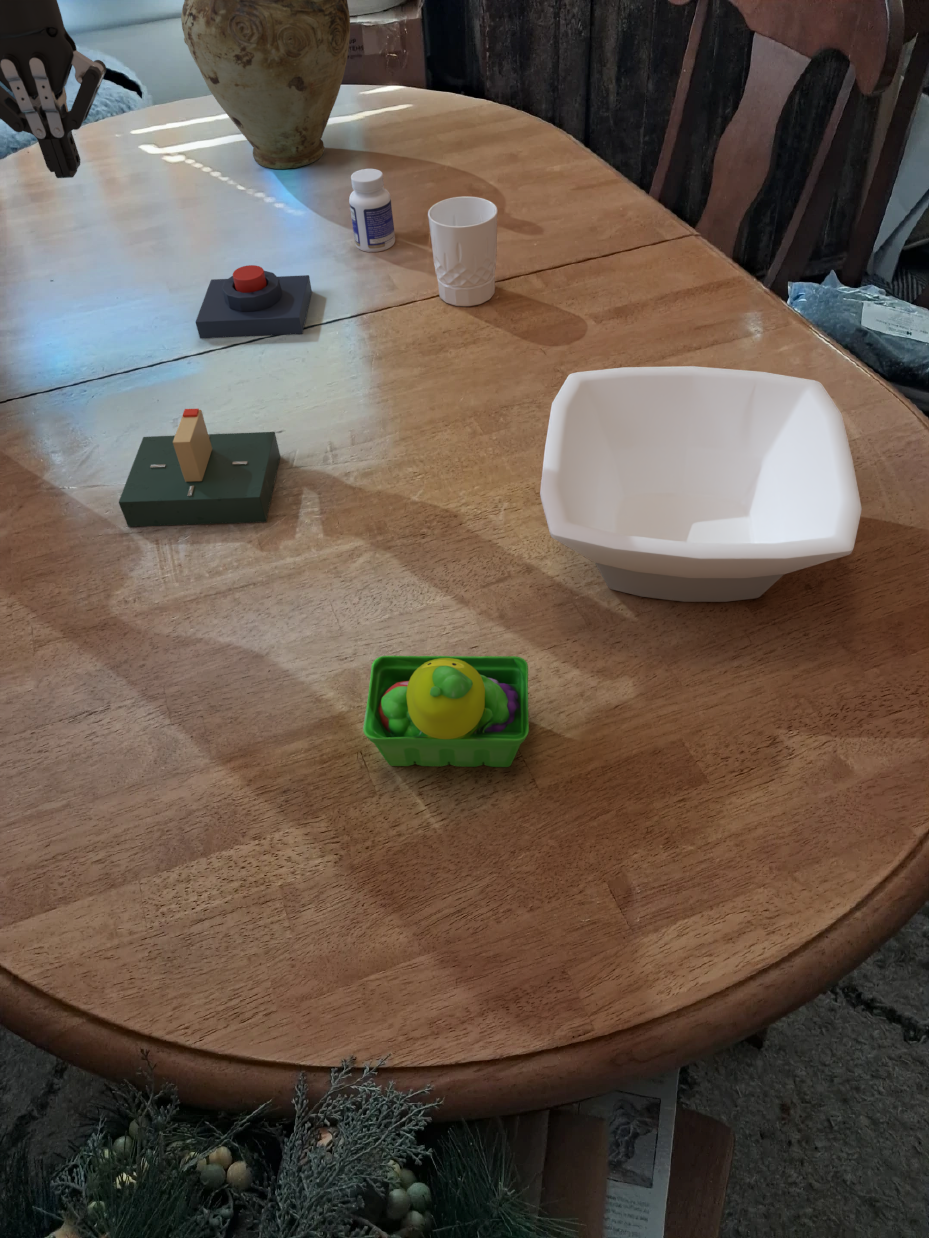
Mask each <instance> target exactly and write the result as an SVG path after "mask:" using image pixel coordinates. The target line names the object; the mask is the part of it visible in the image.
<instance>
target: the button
mask: <svg viewBox="0 0 929 1238" xmlns="http://www.w3.org/2000/svg"><path fill="white" fill-rule="evenodd" d="M264 271H265V270H264V268H263V267H261V266H260V265H257V264H256V265H255V264H248V265H243V266H240V267H237V268H236V269H235V270H234V271H233V272H232V276H233V279H234V283H235V288H236V290H237V291H238V292H242V293H250V292H255V291H259V290H262V289H263V288H264V287H266V285H267V284H266V279H265V274H264Z"/></svg>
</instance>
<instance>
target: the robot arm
mask: <svg viewBox="0 0 929 1238" xmlns="http://www.w3.org/2000/svg"><path fill="white" fill-rule="evenodd" d="M72 68H74V71H75V72H74V79H75V80H76V82H77V83H78V84H79V88H78V91H77V93H76V96H75V98H74V101H73V103H72V106H71V108H70V110H69V107H68V103H67V100H68V96H67V92H66V88H65V87H66V85H67V83H68V80H69V76H70V74H71V71H72ZM106 73H107V66H106V63H104V61H103V60H101V59H95V60H92V59H90V58H89V57H87V56H86V55H84V54H83V53H82V52H80V51H78V50H77V44H76V42H75V41H74V39H73V38H72V37H71V35H70V34H69V33H68V31H67V29H66V27H65V24H64V20H63V16H62V12H61V8H60V6H59V2H58V0H0V83H1V84H2V85H3V86H5V87H6V89H7V90H8V91H9V92H8V91H7V90H6V89H5V88H4V87H3V86H2V85H0V120H1V121H2V122H4V123H5V124H6V126H8V127H9V128H10V129H11V130H12V131H14V132H16V133H22V132H25V133H28V134H30V135H32V136H34V138H35V139H36V140H37V142H38V146H39V148H40V151H41V154H42V156H43V159H44V163H45V166H46V168H47V169H48V171H49V172H50V173H54V175H55V177H56V179H70V178H71V179H73V178H74V177H75V175H76V174H77V172H78V169H79V167H80V166H81V156H80V153H79V151H78V147H77V144H76V141H75V137H74V135H73V131H75V130H76V131H78V130H79V129H80V128H81V127H82V125H83V124H84V122H85V121H86V120H87V119H88V117H89V115H90V111H91V109H92V107H93V104H94V102H95V100H96V97H97V94H98V92H99V89H100V87H101V84H102V82H103V80H104V78H105V75H106ZM10 92H11V93H12V94H13V95H11V93H10Z"/></svg>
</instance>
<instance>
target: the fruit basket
mask: <svg viewBox="0 0 929 1238" xmlns="http://www.w3.org/2000/svg"><path fill="white" fill-rule="evenodd" d="M370 669H371V670H370V676H369V684H368V693H367V699H366V700H367V701H366V707H365V714H364V720H363V727H362V731H363V734H364V736H365V737H366V738H367V739H368V740H369V741H370V742H371V743H373V744H374V746H375V747H376V749H377V750H378V751H379V753H380V755H382V757H383V758H384V760H385V761H386V763H387V764H388V765H389V766H390V767H409V766H413V765H417V766H421V767H445V766H449V765H450V766H454V767H461V768H462V767H463V768H464V767H469V768H472V767H473V768H476V767H481V766H483V765H484V766H486V767H490V768H508V767H511V765H512V763H514V759H515V757H516V755H517V753H518V752H519V749H520V747H521V744H522V743H524V741H525V740H526V738H527V736H528V734H529V730H530V725H529V723H530V722H529V665H528V661H526V659H524V658H523V657H520V656H516V655H498V656H497V655H483V656H482V655H481V656H479V655H477V656H476V655H469V656H468V655H465V656H464V655H453V656H452V655H451V656H450V655H381V656H378V657H376V658H375V659H374V660H373V662H372V663H371V667H370Z"/></svg>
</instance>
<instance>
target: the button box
mask: <svg viewBox="0 0 929 1238" xmlns="http://www.w3.org/2000/svg"><path fill="white" fill-rule="evenodd" d="M264 274H265V279H266V284H267V285H266V287H264V288H263V289H262V290H259V291H255V292H250V293H242V292H238V291H237V290H236V288H235V283H234V279H233V275H231V276H230V277H228V278H215V279H211V280H210V282H209V285H208V287H207V289H206V292H205V295H204V298H203V300H202V303H201V307H200V308H199V311H198V314H197V317H196V320H195V325H196V329H197V333H198V337H199V339H200V340H201V339H220V338H221V339H222V338H223V339H224V338H244V337H245V338H246V337H270V336H294V335H303V333H304V328H305V324H306V320H307V316H308V310H309V307H310V302H311V298H312V292H313V291H312V285H311V280H310V279H311V278H310V275H309V274H306V275H305V274H303V275H302V274H301V275H283V276H282V275H281V276H277V275H276V274H275V273H274V272H272V271H268V270H264Z"/></svg>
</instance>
